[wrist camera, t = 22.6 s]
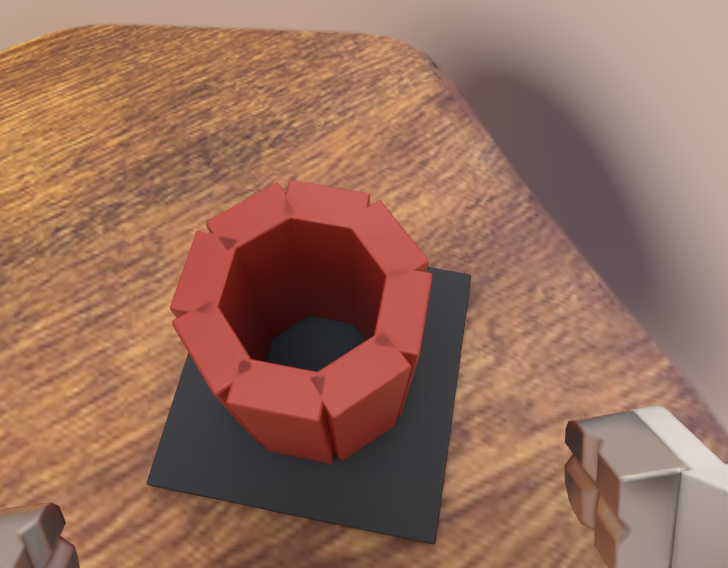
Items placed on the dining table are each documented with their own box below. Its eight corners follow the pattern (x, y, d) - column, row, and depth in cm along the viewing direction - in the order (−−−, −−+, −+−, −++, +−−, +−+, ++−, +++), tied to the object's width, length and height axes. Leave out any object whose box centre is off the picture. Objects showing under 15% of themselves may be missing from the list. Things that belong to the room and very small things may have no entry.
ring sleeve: (419, 306, 24) (444, 205, 17) (390, 476, 21) (405, 439, 14) (258, 277, 24) (218, 166, 17) (210, 440, 21) (141, 387, 15)
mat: (469, 280, 25) (471, 274, 24) (433, 544, 21) (435, 544, 20) (229, 238, 25) (226, 230, 25) (151, 485, 21) (145, 484, 21)
